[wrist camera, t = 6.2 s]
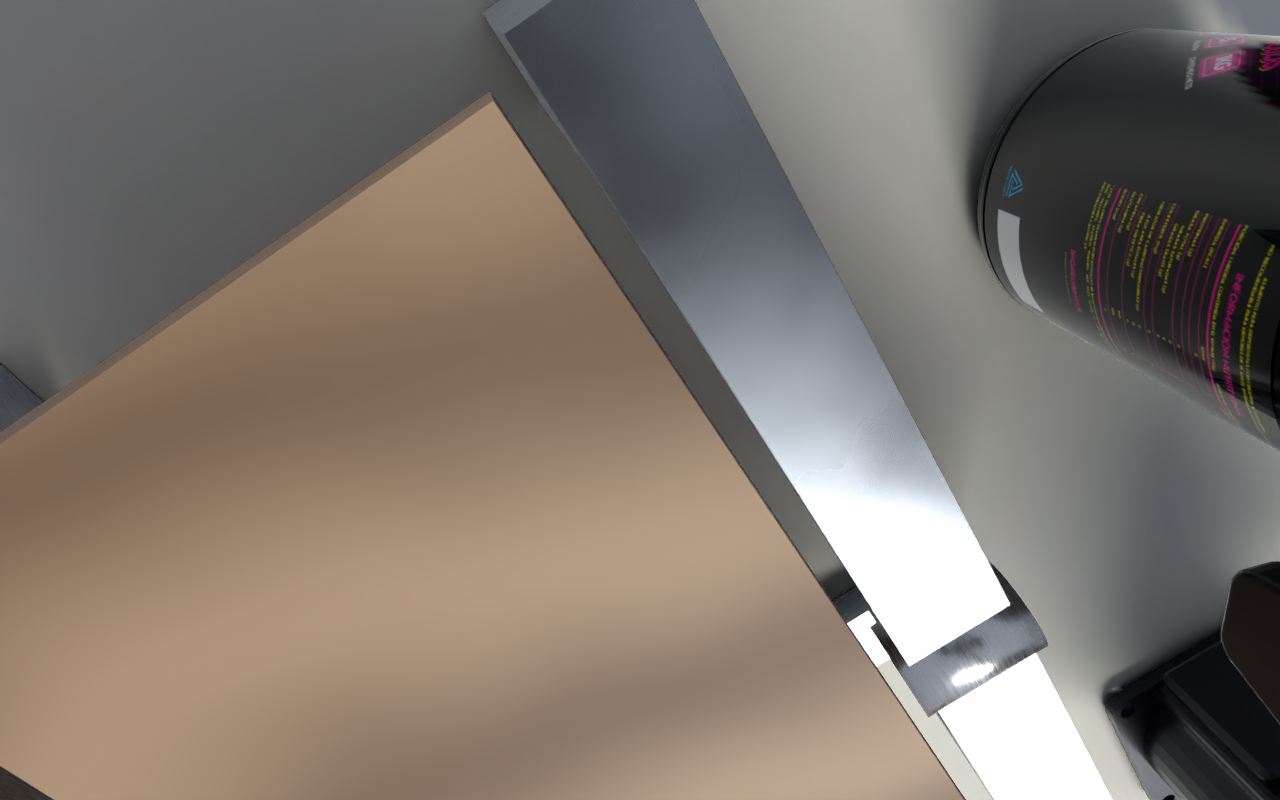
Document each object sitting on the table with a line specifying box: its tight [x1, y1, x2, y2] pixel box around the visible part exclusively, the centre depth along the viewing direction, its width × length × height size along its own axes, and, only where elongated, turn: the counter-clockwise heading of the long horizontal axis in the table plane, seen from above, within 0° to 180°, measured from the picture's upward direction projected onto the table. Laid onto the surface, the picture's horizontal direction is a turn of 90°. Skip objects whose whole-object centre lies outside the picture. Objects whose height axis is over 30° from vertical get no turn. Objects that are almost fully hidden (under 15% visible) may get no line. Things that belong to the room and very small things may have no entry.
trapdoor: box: [0, 91, 966, 800], centre depth 17 cm, size 18×11×6 cm, turn 32°
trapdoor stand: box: [0, 0, 1113, 800], centre depth 18 cm, size 20×16×8 cm
